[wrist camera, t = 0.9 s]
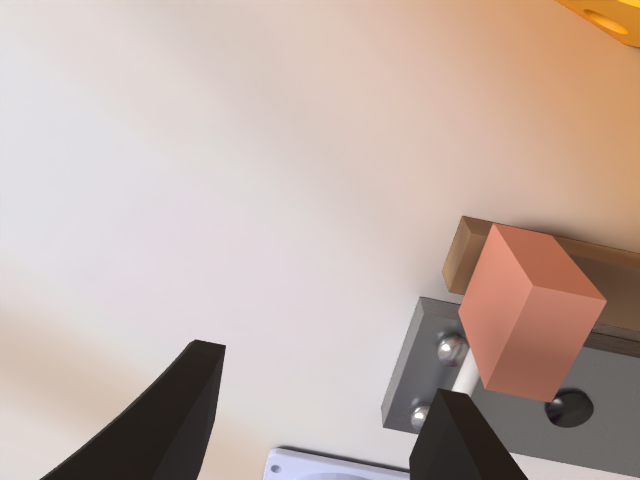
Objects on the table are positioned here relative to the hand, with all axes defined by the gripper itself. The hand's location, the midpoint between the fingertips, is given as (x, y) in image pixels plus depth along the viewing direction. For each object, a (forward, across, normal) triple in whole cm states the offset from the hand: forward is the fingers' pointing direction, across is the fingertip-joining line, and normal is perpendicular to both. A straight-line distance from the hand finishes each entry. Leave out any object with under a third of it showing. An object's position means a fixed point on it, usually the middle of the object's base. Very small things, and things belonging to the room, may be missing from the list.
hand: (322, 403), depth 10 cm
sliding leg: (+8, -6, +3) cm, 10 cm away
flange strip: (+9, -12, +6) cm, 16 cm away
